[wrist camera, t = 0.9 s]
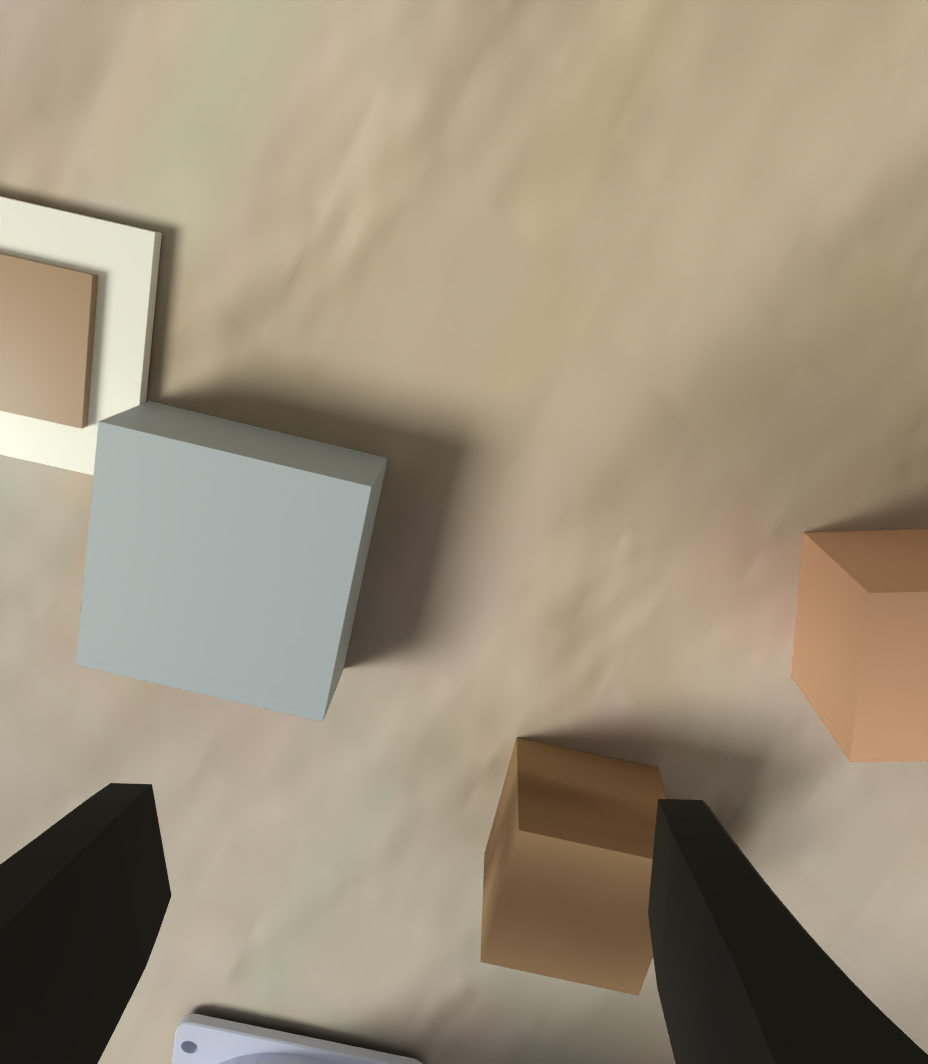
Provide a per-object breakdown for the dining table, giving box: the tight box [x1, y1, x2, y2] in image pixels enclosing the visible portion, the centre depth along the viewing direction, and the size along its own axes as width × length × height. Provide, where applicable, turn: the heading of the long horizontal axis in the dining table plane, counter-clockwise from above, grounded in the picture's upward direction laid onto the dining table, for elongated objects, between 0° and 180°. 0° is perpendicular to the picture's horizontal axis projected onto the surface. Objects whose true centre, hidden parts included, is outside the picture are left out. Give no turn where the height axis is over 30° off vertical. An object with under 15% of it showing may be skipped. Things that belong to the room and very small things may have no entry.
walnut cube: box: [481, 738, 667, 995], centre depth 22 cm, size 4×4×4 cm
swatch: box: [0, 196, 162, 475], centre depth 20 cm, size 6×6×1 cm
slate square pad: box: [76, 401, 388, 722], centre depth 20 cm, size 6×6×3 cm
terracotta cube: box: [791, 529, 928, 762], centre depth 19 cm, size 4×4×4 cm
